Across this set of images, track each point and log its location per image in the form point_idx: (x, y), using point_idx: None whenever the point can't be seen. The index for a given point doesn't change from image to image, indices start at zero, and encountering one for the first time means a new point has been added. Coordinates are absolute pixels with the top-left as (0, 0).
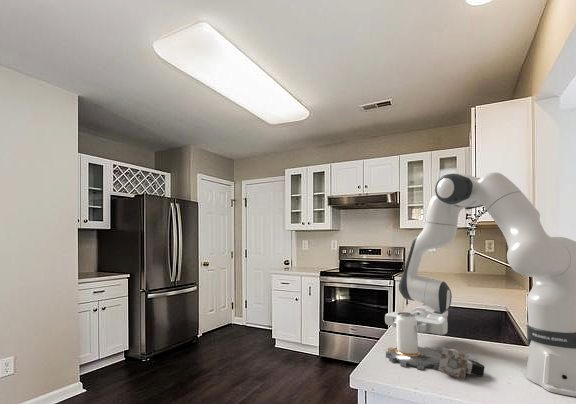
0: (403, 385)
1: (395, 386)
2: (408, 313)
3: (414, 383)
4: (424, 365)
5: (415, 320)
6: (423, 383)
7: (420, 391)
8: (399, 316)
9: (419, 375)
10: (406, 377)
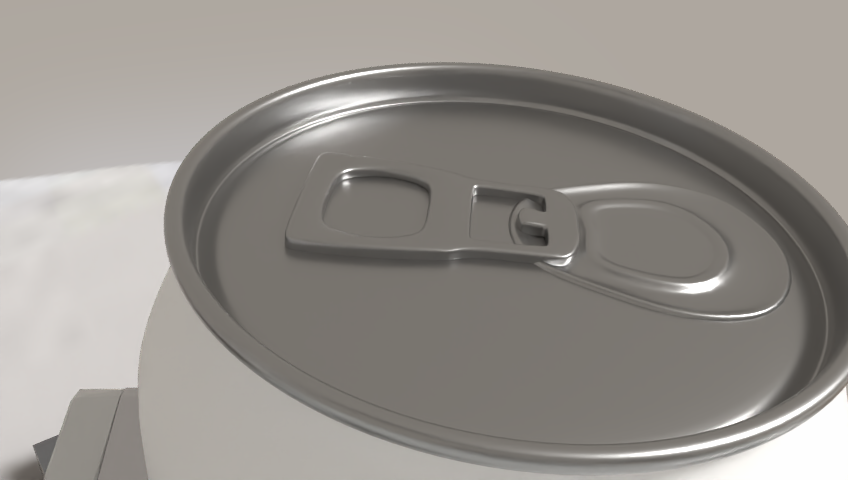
0: (137, 191)
1: (177, 166)
2: (665, 453)
3: (75, 236)
4: None
5: (149, 321)
6: (9, 264)
7: (16, 186)
8: (562, 118)
9: (65, 350)
10: (157, 272)
